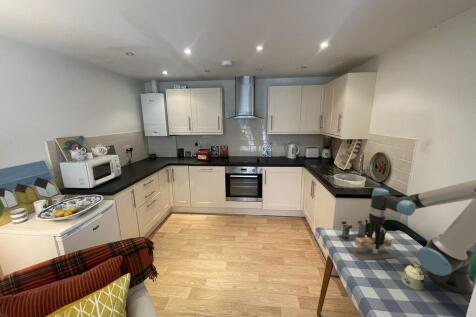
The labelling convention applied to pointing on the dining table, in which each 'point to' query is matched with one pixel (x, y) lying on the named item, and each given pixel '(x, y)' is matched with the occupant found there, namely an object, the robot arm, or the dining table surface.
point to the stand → (351, 237)
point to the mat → (371, 253)
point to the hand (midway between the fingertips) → (371, 250)
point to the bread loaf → (371, 242)
